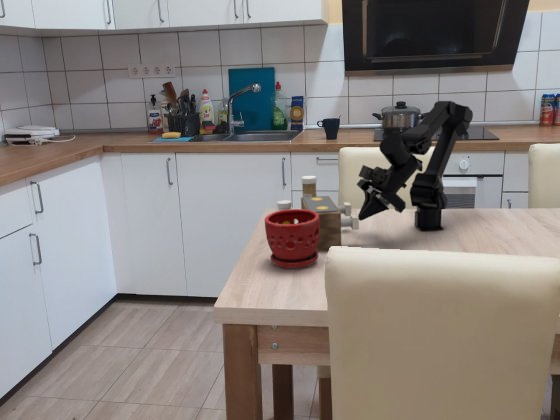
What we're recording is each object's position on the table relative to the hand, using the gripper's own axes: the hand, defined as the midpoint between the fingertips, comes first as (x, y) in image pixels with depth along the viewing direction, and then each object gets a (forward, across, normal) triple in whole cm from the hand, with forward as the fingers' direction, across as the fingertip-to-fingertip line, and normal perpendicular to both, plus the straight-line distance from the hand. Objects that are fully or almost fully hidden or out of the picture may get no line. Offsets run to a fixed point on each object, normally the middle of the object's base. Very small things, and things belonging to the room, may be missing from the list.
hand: (358, 219), depth 139 cm
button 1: (+3, -14, 0) cm, 14 cm away
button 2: (+5, -1, -2) cm, 6 cm away
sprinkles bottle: (+8, -30, +3) cm, 31 cm away
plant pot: (+19, +6, -8) cm, 22 cm away
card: (+4, -8, -8) cm, 12 cm away
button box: (+11, -8, 0) cm, 14 cm away
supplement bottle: (+16, -17, -6) cm, 24 cm away
